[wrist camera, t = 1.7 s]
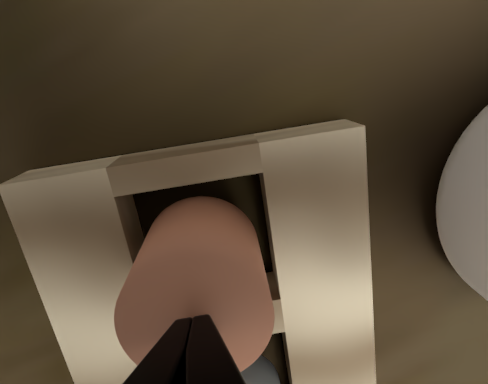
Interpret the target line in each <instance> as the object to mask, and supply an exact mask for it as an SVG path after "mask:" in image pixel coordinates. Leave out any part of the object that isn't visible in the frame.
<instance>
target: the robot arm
mask: <svg viewBox="0 0 488 384" xmlns="http://www.w3.org/2000/svg"><path fill="white" fill-rule="evenodd" d="M122 384H246V382H245V380H244V378H243V376H242V374H241V372H240V371H239V369H238V367H237V365H236V363H235V361H234V359H233V357H232V356H231V354H230V352H229V350H228V348H227V346H226V344H225V342H224V341H223V339H222V337H221V335H220V333H219V331H218V329H217V327H216V325H215V324H214V322H213V320H212V318H211V316H210V315H209V314H205V315H199V316H195V317H193V319H192V318H191V317H187V318H181V319H177V320H175V321H174V322H173V323H172V325H171V326H170V327H169V328H168V329H167V331H166V332H165V333H164V334H163V335H162V337H161V338H160V339H159V340H158V341H157V343H156V344H155V345H154V346H153V347H152V349H151V350H150V351H149V352H148V353H147V355H146V356H145V357H144V358H143V359H142V361H141V362H140V363H139V364H138V365H137V367H136V368H135V369H134V370H133V371H132V373H131V374H130V375H129V376H128V377H127V379H126V380H125V381H124V382H123V383H122Z"/></svg>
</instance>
